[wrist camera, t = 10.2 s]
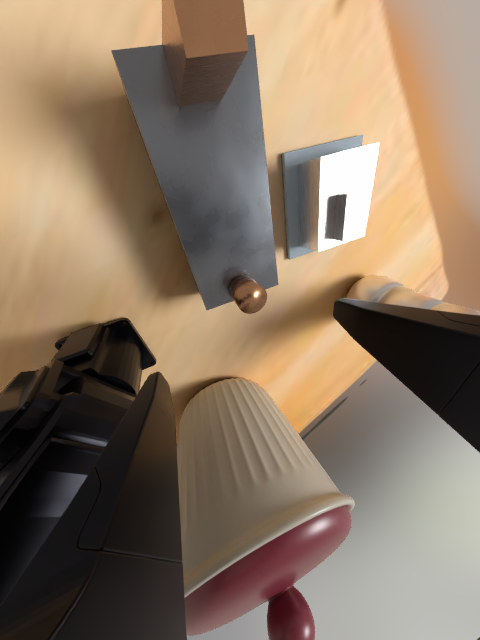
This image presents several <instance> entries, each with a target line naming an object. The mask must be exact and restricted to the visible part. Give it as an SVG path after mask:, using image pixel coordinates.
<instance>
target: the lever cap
mask: <svg viewBox="0 0 480 640" xmlns="http://www.w3.org/2000/svg"><path fill="white" fill-rule="evenodd" d="M379 143H380V142H379ZM379 143H375V144H371V145H367V146H363V147H359V148H355V149H351V150H347V151H343V152H339V153H336V154H332V155H328V156H324V157H320V158H317V159H314V160H310V161H307V162H304V163H301V164H298V198H299V237H300V247H303V248H306V249H310V250H313V251H317V252H320V251H323V250H325V249H328V248H331V247H334V246H337V245H340V244H343V243H346V242H348V241H351V240H354V239H357V238H360V237H363V236H364V235H365V229H366V223H367V217H368V210H369V204H370V198H371V192H372V186H373V180H374V173H375V167H376V161H377V155H378V149H379Z"/></svg>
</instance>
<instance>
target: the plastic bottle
mask: <svg viewBox="0 0 480 640" xmlns="http://www.w3.org/2000/svg"><path fill="white" fill-rule="evenodd" d="M346 298H347V299H355V300H362V301H370V302H377V303H385V304H393V305H400V306H408V307H415V308H423V309H431V310H435V311H436V310H439V311H446V312H454V313H463V314H472V315H480V311H477V310H473V309H469V308H465V307H462V306H458V305H454V304H451V303H446V302H444V301H441V300H437V299H434V298H431V297H429V296H426V295H424V294H421V293H419V292H417V291H414V290H412V289H409V288H407V287H405V286H404V285H402V284H400V283H398V282H396V281H394V280H392V279H390V278H388V277H384V276H376V275H371V276H367V277H364V278H362V279H360V280H358V281H357V282H356V283H355V284H354V285H353V286H352V287H351V289H350V290H349V292H348V294H347V296H346Z"/></svg>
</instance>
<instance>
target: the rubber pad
mask: <svg viewBox="0 0 480 640" xmlns="http://www.w3.org/2000/svg"><path fill="white" fill-rule="evenodd" d="M362 137H363V135H360V136H355V137H351V138H347V139H342V140H338V141H334V142H330V143H325V144H321V145H317V146H312V147H308V148H304V149H299V150H295V151H291V152H286V153H283V154H282V166H283V183H284V200H285V217H286V234H287V252H288V259H293V258H296V257H299V256H302V255H305V254H308V253H310V252H313V250H310V249H306V248H303V247H300V237H299V198H298V164H301V163H304V162H307V161H310V160H314V159H317V158H320V157H324V156H328V155H332V154H336V153H339V152H343V151H347V150H351V149H355V148H359V147H361V145H362Z"/></svg>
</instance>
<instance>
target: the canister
mask: <svg viewBox="0 0 480 640" xmlns="http://www.w3.org/2000/svg"><path fill="white" fill-rule="evenodd" d="M177 465H178V484H179V503H180V522H181V542H182V563H183V578H184V597H185V616H186V635H189V636H192V635H198V634H202V633H205V632H208V631H211V630H213V629H216V628H218V627H220V626H223V625H224V624H227V623H229V622H231V621H233V620H234V619H236V618H238V617H240V616H242V615H244V614H246V613H247V612H249V611H251V610H252V609H254V608H256V607H258V606H259V605H261V604H263V603H264V602H267V601H268V602H269V605H268V613H267V627H268V636H269V640H314V638H315V625H314V620H313V616H312V613H311V610H310V608H309V605H308V604H307V602H306V600H305V598H304V597H303V596H302V594H301V593H300V592H299V591H298V590H297V589H296V588H295V587H294V586H293V584H294V583H295V582H296V581H297V580H299V579H300V578H302V577H303V576H304V575H305V574H307V573H308V572H310V571H311V570H312V569H314V568H315V567H316V566H317V565H319V564H320V563H321V562H322V561H324V560H325V559H326V558H327V557H328V556H329V555H331V554H332V553H333V552H334V551H335V550H336V549H337V548H338V547H339V546H340V544H341V543H342V542H343V541H344V540H345V538H346V537H347V535H348V534H349V531H350V528H351V516H350V512H351V510H352V509H353V508H354V506H355V502H354V500H353V499H352V498H351V497H350V496H348V495H345V494H341V493H340V492H339V490H338V489H337V487H336V486H335V485H334V483H333V482H332V480H331V479H330V478H329V476H328V475H327V474H326V472H325V471H324V469H323V468H322V466H321V465H320V464H319V462H318V461H317V460H316V458H315V457H314V455H313V454H312V453H311V451H310V450H309V449H308V447H307V446H306V444H305V443H304V442H303V440H302V439H301V437H300V436H299V435H298V433H297V432H296V430H295V429H294V428H293V426H292V425H291V424H290V422H289V421H288V419H287V418H286V417H285V415H284V414H283V413H282V411H281V410H280V409H279V407H278V406H277V405H276V404H275V402H274V401H273V400H272V398H271V397H270V396H269V394H268V393H267V392H266V391H265V390H264V389H263V388H262V387H261V386H259V385H258V384H257V383H255V382H252V381H251V380H246V379H240V378H236V379H233V378H231V379H225V380H223V381H218V382H217V383H213V384H212V385H210V386H207V387H206V388H205V389H203V390H201V391H200V392H199V393H197V394H196V395H195V396H194V398H192V399H191V400H190V402H189V403H188V404H187V406H186V408H185V410H184V412H183V414H182V417H181V421H180V425H179V433H178V446H177Z"/></svg>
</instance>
